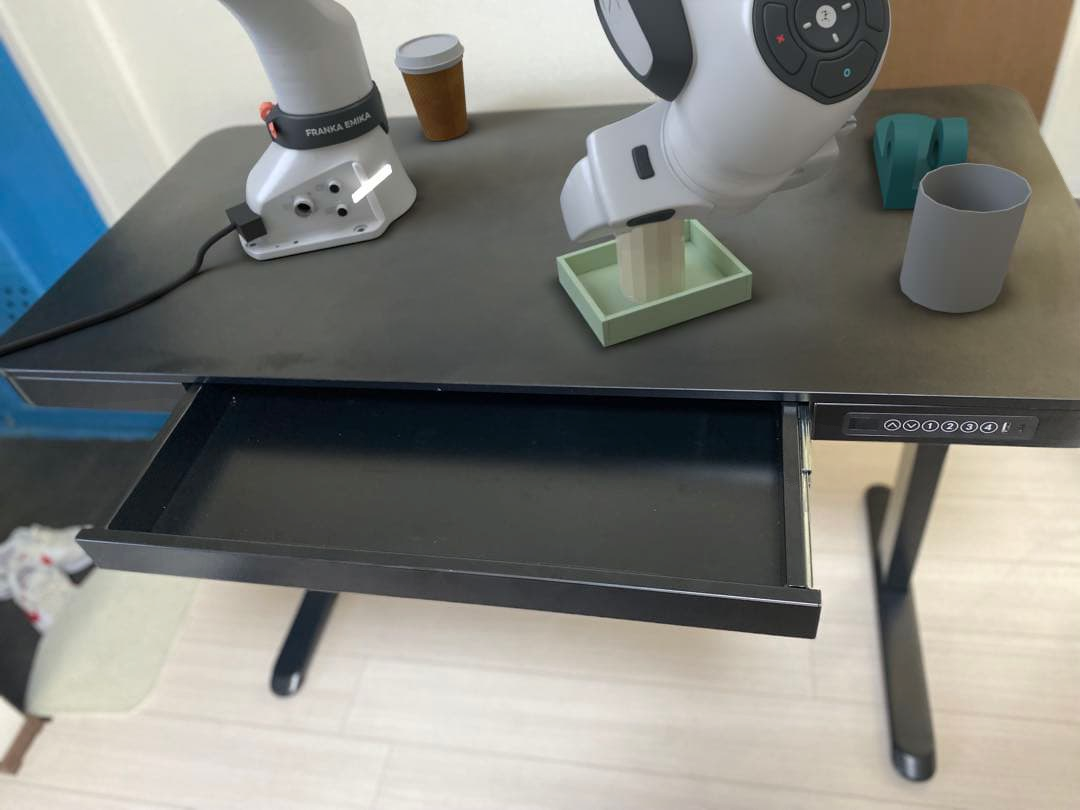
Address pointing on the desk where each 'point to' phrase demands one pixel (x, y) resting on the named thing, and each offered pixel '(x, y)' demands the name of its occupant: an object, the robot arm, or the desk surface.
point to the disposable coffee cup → (435, 83)
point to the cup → (963, 236)
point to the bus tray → (616, 319)
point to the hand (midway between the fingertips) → (673, 211)
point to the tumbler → (652, 261)
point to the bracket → (915, 153)
